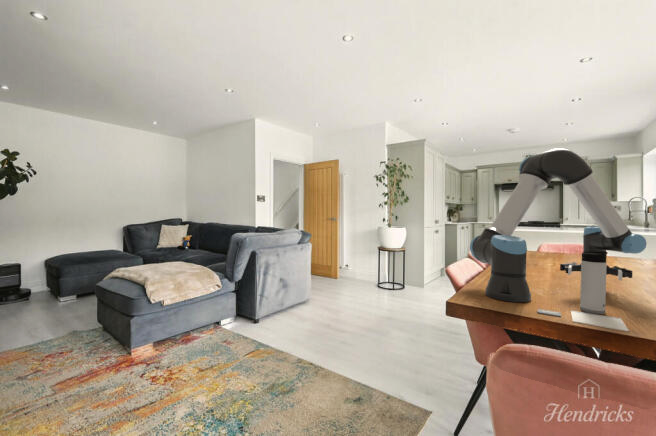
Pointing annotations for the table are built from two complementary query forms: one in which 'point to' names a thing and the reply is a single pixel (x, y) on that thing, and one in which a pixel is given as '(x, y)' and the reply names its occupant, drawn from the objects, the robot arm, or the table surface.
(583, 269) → the travel mug
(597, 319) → the notepad
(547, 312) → the plate
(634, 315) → the table surface
